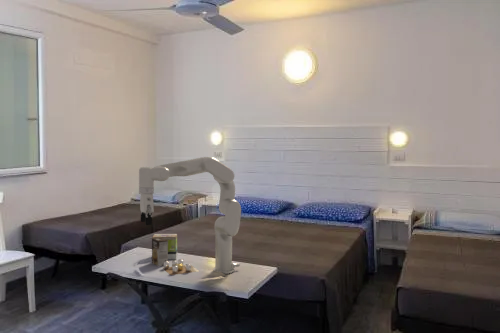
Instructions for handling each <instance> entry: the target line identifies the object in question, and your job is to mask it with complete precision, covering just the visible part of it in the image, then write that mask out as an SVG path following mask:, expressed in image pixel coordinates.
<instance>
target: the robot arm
mask: <svg viewBox="0 0 500 333" xmlns="http://www.w3.org/2000/svg"><path fill="white" fill-rule="evenodd" d="M203 173H208V174H210V175H211V176H212V178H213V179H214V180H215V181H216V182H217V184H218V185H219V189H220V192H219V201H218V211H219V212H220V214H223V215H224V216H218V218H217V219H216V220H215V221H214V233H215V254H214V255H215V257H214V258H215V260H214V261H215V262H214V263H215V264H214V265H215V267H213V268H212V271H214V272H216V273H222V274H223V275H227V274H228V275H230V274H232V272H233V273H234V272H235V268H239V267H240V266H241V265H240V263H236V262H233V261H232V260H233V237H234V236H236V235H237V234H238V232H239V230H240V226H241V215H242V206H241V204H240V202H239V201H238V200H235V198H236V197H235V196H236V185H235V182H234V180H235V173H234V170H232V169H231V168H230V167H228V166H227V165H225V164H224V163H222V162H221V161H219V160H218V159H217V158H215V157H213V156H211V157H210V156H203V157H197V158H193V159H187V160H182V161H177V162H171V163H165V164H160V165H155V166H153V167H151V166H142V167H140V168H139V169H138V194H140V195H139V196H140V197H139V198H140V199H139V200H140V201H139V204H140V206H139V210H140V222H141V223H144V224H145V226H152V224H153V213H155V211H154V210H155V207H154V194H155V193H154V190H155V189H154V188H155V186H154V185H155V184H154V183H155V181H156V182H157V181H158V182H165V181H167V180H168V179H169V178H172V177H173V178H174V177H190V176H194V175H198V174H203ZM229 273H230V274H229Z"/></svg>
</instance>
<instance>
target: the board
mask: <svg viewBox="0 0 500 333" xmlns="http://www.w3.org/2000/svg"><path fill="white" fill-rule="evenodd" d="M162 269H163V270H164V271H165V272H166V273H167V274H169V276H174V275H182V274H183V275H184V274H189V273H196V272H197V273H198V272H200V270H198V268H196V267H194V266H193V265H192V264H191V272H186V264H184V267H183V270H182V271H178V273H177V274H173V273H172V266H169V269H164V267H162Z"/></svg>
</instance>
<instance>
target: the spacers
mask: <svg viewBox="0 0 500 333" xmlns="http://www.w3.org/2000/svg"><path fill="white" fill-rule="evenodd" d="M175 264H183V267H184V265H186V272H191V265H192V264H191V263H187V264H185V262H184V258H183V259H182V258H180V259H178V260H177V259H172V261H171V267H172V273H173V274H176V275H178V274H177V273H178V265H175ZM169 267H170V261H164V265H163V268H164V269H169ZM164 269H163V270H164ZM191 273H192V272H191Z"/></svg>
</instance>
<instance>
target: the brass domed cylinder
mask: <svg viewBox="0 0 500 333" xmlns="http://www.w3.org/2000/svg"><path fill="white" fill-rule="evenodd" d="M175 265H178V271H182V270H183V264H178V263H177V264H175Z"/></svg>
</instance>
